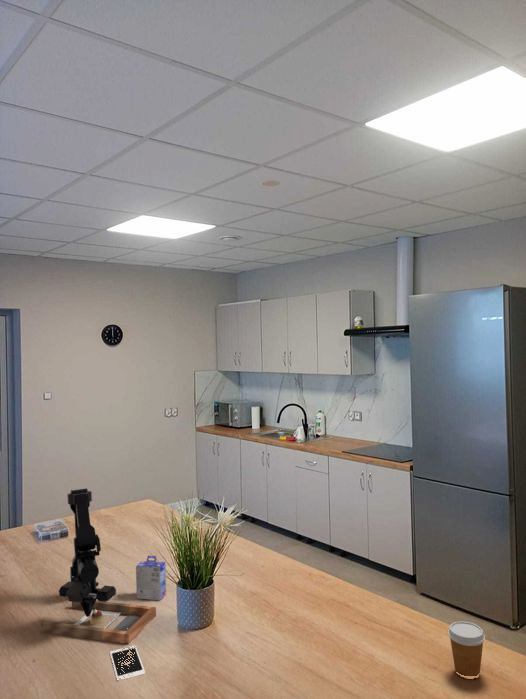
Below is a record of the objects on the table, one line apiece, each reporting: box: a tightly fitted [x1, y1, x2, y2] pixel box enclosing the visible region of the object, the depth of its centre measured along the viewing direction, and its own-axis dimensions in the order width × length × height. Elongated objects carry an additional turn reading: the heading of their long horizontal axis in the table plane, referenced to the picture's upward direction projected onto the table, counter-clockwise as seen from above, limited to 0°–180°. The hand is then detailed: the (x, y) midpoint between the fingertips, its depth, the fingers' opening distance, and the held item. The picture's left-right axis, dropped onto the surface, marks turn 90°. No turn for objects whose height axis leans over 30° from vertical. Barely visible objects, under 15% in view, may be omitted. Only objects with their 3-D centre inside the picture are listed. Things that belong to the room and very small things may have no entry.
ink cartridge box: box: [135, 555, 167, 601], centre depth 200 cm, size 10×6×14 cm, turn 78°
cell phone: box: [109, 645, 146, 681], centre depth 158 cm, size 8×16×1 cm, turn 23°
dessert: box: [73, 608, 122, 629], centre depth 183 cm, size 12×12×5 cm
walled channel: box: [40, 600, 157, 645], centre depth 181 cm, size 32×18×3 cm, turn 74°
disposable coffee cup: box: [447, 621, 486, 676], centre depth 148 cm, size 10×10×12 cm
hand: (88, 616), depth 182 cm, fingers closed
